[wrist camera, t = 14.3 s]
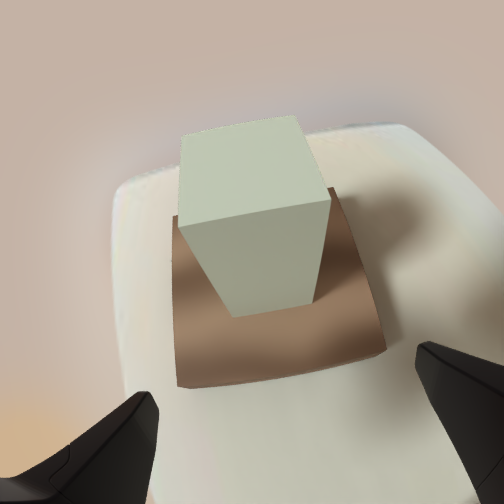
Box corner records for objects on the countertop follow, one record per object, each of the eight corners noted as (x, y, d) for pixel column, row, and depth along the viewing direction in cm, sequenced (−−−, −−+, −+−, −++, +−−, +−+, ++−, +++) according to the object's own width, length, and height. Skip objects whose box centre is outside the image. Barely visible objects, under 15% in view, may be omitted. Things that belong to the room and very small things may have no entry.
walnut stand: (375, 356, 17) (387, 349, 15) (190, 388, 18) (177, 386, 16) (330, 206, 24) (333, 187, 22) (182, 233, 24) (172, 216, 22)
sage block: (312, 303, 18) (331, 199, 9) (232, 317, 18) (177, 227, 9) (295, 236, 20) (294, 115, 11) (225, 249, 20) (181, 135, 12)
